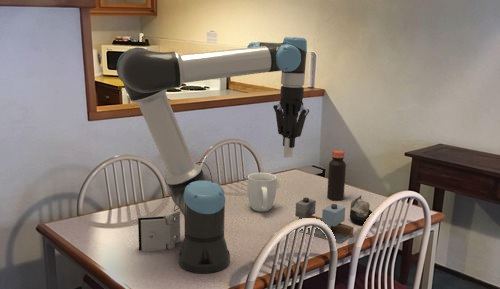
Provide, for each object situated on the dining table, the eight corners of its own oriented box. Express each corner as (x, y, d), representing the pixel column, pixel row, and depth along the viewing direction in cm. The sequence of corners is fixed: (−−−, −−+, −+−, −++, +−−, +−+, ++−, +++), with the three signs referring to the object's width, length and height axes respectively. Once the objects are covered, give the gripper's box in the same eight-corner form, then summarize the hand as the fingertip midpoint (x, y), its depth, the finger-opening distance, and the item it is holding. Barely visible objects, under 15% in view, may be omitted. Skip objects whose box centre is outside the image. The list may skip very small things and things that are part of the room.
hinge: (179, 240, 163) (179, 211, 161) (184, 246, 158) (184, 217, 156) (137, 247, 157) (136, 217, 155) (141, 254, 153) (140, 223, 150)
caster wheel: (364, 233, 178) (341, 222, 184) (381, 219, 185) (358, 209, 191) (365, 218, 175) (342, 207, 181) (383, 205, 182) (360, 194, 188)
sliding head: (334, 231, 169) (335, 209, 167) (321, 228, 172) (322, 205, 170) (344, 225, 174) (345, 203, 172) (331, 222, 177) (332, 200, 175)
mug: (279, 217, 184) (281, 183, 181) (250, 218, 183) (251, 184, 180) (272, 203, 199) (273, 172, 196) (245, 204, 197) (245, 172, 194)
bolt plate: (340, 243, 163) (340, 240, 163) (287, 227, 175) (288, 224, 175) (349, 237, 168) (349, 234, 168) (298, 222, 180) (298, 219, 180)
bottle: (323, 197, 207) (326, 151, 202) (333, 194, 211) (336, 148, 207) (336, 202, 202) (339, 154, 197) (346, 198, 206) (350, 151, 202)
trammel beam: (346, 239, 166) (348, 213, 164) (294, 223, 179) (296, 199, 176) (356, 233, 172) (357, 207, 170) (305, 218, 184) (306, 194, 182)
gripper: (315, 87, 160) (310, 158, 165) (282, 83, 168) (278, 151, 173) (302, 88, 154) (297, 162, 159) (269, 84, 162) (265, 154, 167)
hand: (287, 156), depth 166 cm, fingers closed
